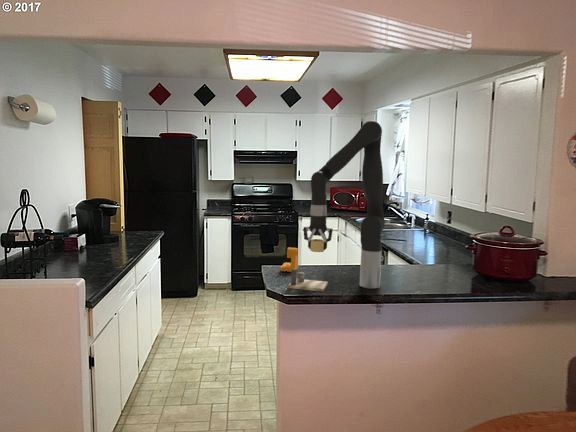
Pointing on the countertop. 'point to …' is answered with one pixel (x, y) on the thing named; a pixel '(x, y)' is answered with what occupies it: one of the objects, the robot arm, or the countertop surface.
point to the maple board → (305, 282)
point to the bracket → (293, 255)
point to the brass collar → (317, 245)
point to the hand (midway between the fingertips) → (317, 249)
